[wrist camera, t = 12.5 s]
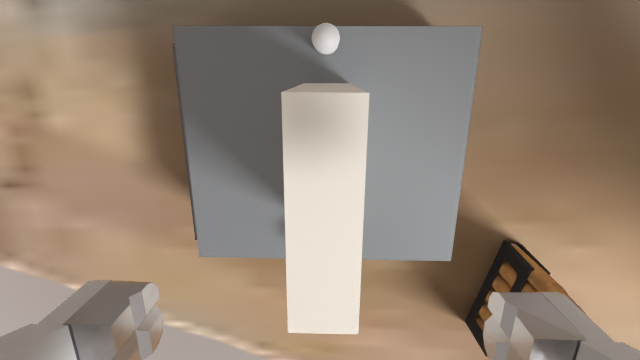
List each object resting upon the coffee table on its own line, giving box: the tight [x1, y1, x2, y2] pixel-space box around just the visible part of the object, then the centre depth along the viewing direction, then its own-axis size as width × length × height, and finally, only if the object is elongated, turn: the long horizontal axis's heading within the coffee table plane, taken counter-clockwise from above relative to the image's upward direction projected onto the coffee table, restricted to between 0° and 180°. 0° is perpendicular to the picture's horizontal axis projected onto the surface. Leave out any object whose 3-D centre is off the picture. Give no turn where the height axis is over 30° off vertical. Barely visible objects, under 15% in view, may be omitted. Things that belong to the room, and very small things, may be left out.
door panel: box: [281, 83, 369, 334], centre depth 19 cm, size 3×10×12 cm, turn 0°
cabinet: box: [173, 23, 483, 261], centre depth 27 cm, size 21×17×11 cm
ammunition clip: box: [465, 240, 585, 357], centre depth 31 cm, size 11×2×12 cm, turn 165°
